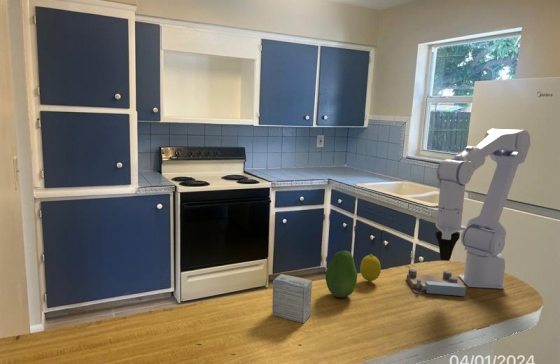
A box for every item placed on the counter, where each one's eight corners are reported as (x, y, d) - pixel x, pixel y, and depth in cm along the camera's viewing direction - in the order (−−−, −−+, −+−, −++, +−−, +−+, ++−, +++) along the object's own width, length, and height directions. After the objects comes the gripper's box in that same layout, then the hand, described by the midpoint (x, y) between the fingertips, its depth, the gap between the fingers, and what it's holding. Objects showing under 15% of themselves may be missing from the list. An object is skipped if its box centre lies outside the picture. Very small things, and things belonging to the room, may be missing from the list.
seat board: (449, 281, 114) (450, 271, 113) (458, 291, 107) (459, 280, 107) (406, 279, 115) (407, 269, 114) (412, 289, 108) (413, 278, 108)
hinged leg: (422, 292, 105) (423, 283, 105) (420, 289, 107) (421, 280, 107) (464, 296, 104) (465, 287, 104) (462, 292, 106) (463, 283, 106)
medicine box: (311, 315, 92) (312, 279, 90) (303, 324, 88) (305, 287, 86) (279, 308, 95) (280, 273, 94) (271, 316, 91) (272, 279, 90)
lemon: (378, 278, 114) (380, 251, 113) (380, 286, 109) (383, 258, 108) (358, 277, 115) (360, 250, 114) (360, 285, 109) (362, 257, 108)
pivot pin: (421, 289, 108) (422, 278, 107) (424, 294, 105) (425, 282, 105) (411, 289, 108) (412, 277, 107) (413, 293, 105) (415, 282, 105)
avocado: (360, 294, 104) (363, 249, 102) (348, 305, 97) (351, 258, 95) (332, 286, 108) (334, 243, 106) (318, 297, 101) (321, 251, 99)
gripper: (467, 215, 92) (461, 271, 95) (468, 204, 105) (462, 253, 108) (434, 211, 95) (429, 266, 98) (439, 201, 108) (434, 249, 111)
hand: (445, 259), depth 103 cm, fingers closed
